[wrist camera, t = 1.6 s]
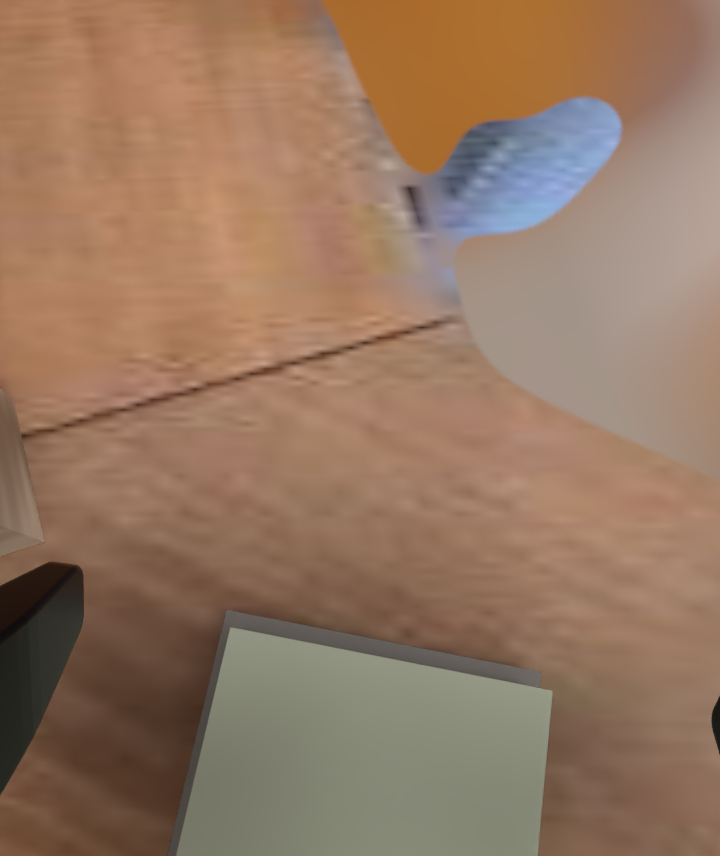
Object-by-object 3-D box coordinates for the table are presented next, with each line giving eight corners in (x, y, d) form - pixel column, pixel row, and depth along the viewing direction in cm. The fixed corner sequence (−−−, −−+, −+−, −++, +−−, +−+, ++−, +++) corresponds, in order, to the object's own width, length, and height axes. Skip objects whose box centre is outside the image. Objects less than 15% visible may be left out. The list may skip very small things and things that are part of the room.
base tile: (480, 1014, 20) (503, 1064, 18) (154, 952, 20) (133, 994, 18) (517, 668, 23) (541, 671, 21) (234, 612, 23) (226, 609, 21)
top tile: (488, 1037, 18) (515, 1097, 16) (159, 973, 18) (135, 1025, 16) (524, 684, 21) (552, 690, 18) (239, 628, 21) (230, 627, 18)
